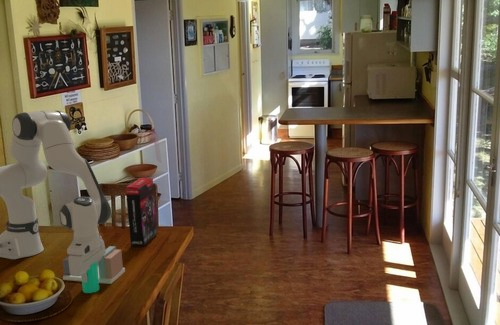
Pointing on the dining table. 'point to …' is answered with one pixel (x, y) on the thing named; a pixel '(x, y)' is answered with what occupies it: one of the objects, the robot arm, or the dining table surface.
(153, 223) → the graphics card box
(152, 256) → the dining table surface
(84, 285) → the candle
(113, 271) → the white base with blocks
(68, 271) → the bookend
